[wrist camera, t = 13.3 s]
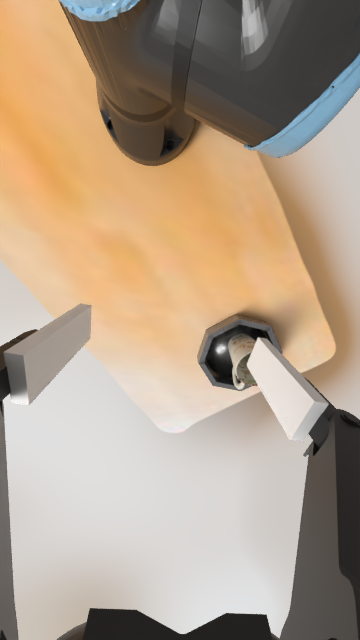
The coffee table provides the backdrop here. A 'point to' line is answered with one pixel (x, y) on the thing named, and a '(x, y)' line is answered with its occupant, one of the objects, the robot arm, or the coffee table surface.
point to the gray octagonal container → (218, 351)
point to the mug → (241, 359)
